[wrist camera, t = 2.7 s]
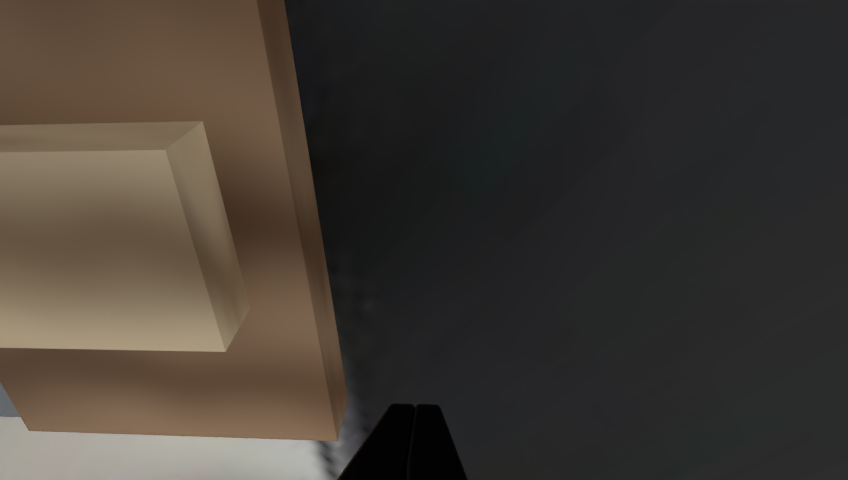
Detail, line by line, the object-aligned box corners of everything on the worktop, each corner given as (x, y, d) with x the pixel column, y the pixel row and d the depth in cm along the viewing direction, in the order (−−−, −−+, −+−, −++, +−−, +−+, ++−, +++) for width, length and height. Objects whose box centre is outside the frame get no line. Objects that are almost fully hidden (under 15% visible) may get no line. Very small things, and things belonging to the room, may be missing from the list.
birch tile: (250, 308, 17) (225, 352, 16) (11, 305, 18) (-38, 347, 16) (202, 121, 14) (165, 150, 13) (-83, 126, 15) (-156, 154, 13)
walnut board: (348, 399, 22) (337, 440, 20) (62, 392, 23) (29, 430, 21) (258, -162, 13) (224, -174, 11) (-210, -131, 14) (-307, -138, 12)
